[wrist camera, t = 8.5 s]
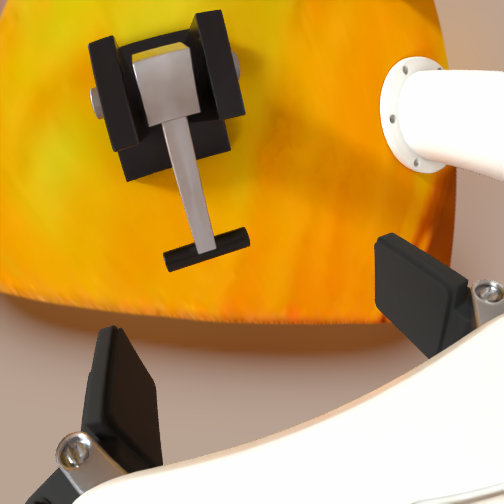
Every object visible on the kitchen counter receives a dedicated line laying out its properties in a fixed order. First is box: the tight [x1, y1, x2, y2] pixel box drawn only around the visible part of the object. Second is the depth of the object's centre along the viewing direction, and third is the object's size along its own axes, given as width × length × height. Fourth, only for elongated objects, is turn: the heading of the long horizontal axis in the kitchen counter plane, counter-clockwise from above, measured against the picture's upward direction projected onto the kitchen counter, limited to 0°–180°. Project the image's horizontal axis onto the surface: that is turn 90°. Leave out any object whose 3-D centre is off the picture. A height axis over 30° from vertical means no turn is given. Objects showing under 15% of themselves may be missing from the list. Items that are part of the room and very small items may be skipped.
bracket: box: [88, 10, 246, 182], centre depth 15 cm, size 10×8×13 cm
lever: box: [132, 42, 250, 272], centre depth 14 cm, size 12×5×2 cm, turn 13°
